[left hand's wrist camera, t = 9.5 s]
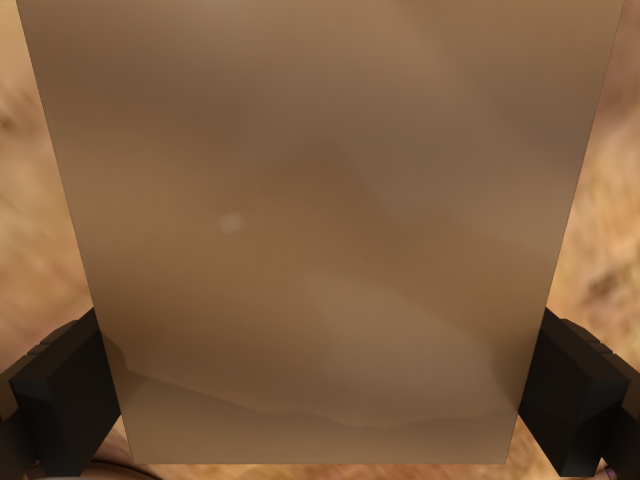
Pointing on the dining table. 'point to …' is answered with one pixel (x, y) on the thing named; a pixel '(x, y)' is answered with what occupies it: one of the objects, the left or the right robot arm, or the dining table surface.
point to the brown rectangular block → (319, 213)
